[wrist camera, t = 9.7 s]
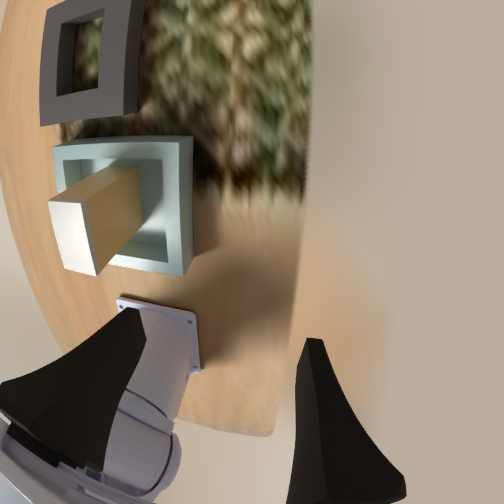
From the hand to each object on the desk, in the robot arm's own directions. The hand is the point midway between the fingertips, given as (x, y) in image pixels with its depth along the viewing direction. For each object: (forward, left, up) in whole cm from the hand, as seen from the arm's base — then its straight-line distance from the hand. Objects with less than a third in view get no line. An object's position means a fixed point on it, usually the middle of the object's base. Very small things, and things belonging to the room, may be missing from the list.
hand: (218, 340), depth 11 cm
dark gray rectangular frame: (+13, +12, -9) cm, 20 cm away
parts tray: (+2, +9, -9) cm, 13 cm away
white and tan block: (+2, +9, -9) cm, 13 cm away
